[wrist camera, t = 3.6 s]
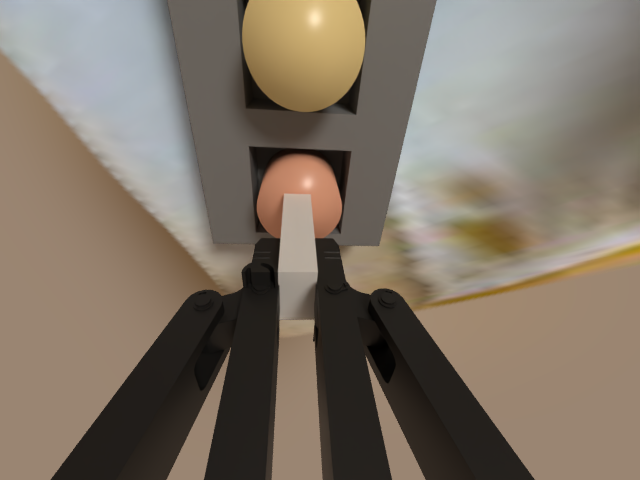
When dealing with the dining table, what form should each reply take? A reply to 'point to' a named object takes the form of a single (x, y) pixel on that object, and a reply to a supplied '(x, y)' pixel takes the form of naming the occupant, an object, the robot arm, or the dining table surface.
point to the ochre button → (304, 50)
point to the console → (298, 116)
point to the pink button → (299, 189)
